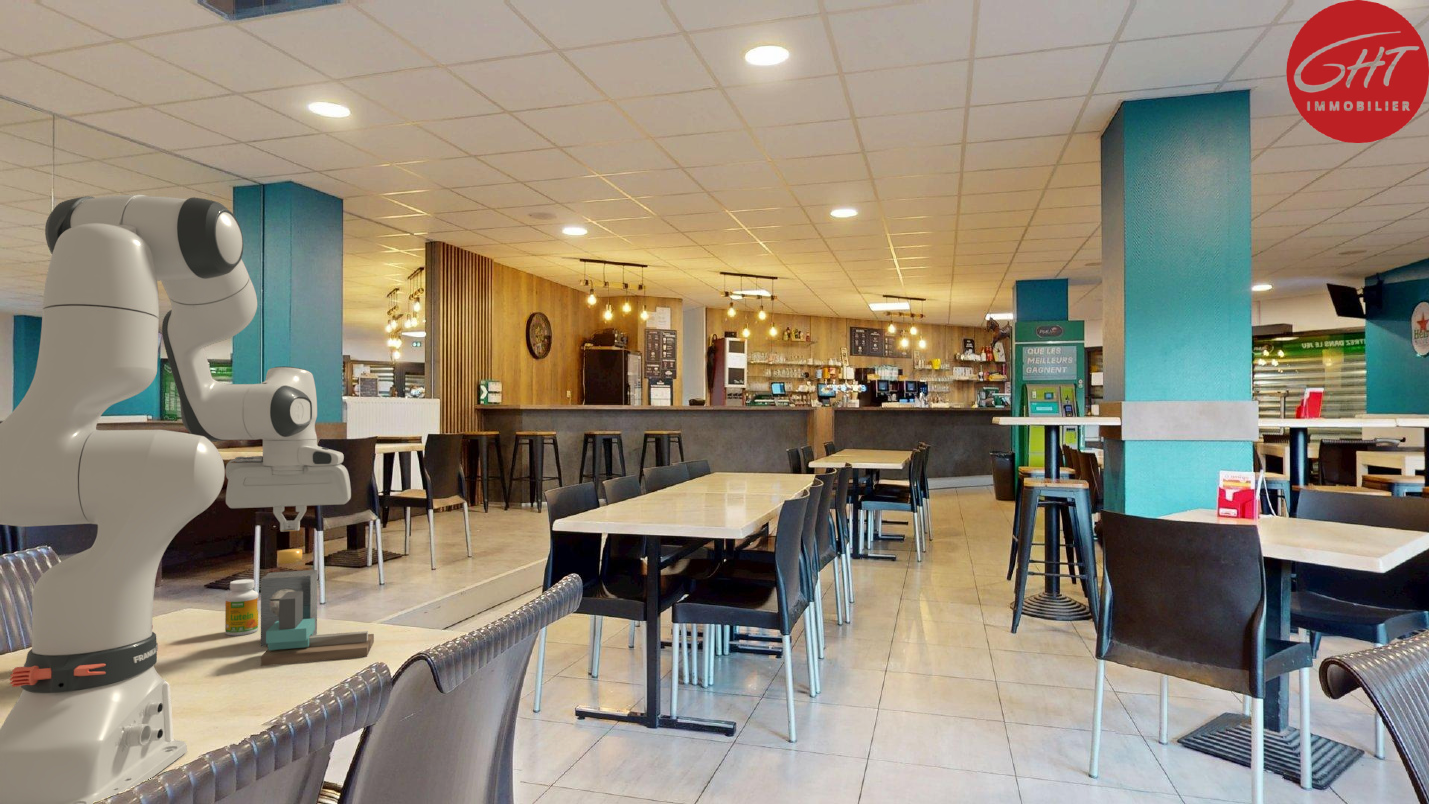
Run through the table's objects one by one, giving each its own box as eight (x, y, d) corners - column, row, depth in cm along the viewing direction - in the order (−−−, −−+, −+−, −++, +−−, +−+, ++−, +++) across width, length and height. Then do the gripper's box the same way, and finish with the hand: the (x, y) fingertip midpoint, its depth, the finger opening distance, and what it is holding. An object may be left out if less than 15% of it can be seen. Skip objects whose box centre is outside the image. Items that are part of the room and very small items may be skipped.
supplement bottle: (226, 638, 144) (226, 585, 145) (224, 631, 149) (224, 580, 149) (259, 633, 148) (260, 581, 148) (256, 627, 152) (256, 577, 152)
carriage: (306, 649, 130) (306, 598, 130) (266, 652, 129) (266, 601, 129) (314, 638, 137) (314, 589, 137) (276, 641, 135) (276, 592, 135)
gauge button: (299, 562, 142) (299, 551, 142) (274, 564, 140) (275, 553, 140) (304, 559, 145) (304, 548, 145) (280, 560, 144) (280, 549, 144)
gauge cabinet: (309, 643, 140) (309, 576, 141) (259, 647, 138) (260, 579, 138) (316, 633, 147) (317, 569, 147) (269, 637, 144) (269, 572, 144)
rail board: (366, 656, 132) (367, 638, 132) (260, 665, 127) (260, 647, 127) (373, 642, 141) (373, 625, 141) (274, 650, 136) (274, 633, 136)
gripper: (220, 457, 137) (220, 536, 137) (347, 455, 143) (347, 530, 143) (231, 456, 143) (230, 531, 143) (352, 453, 149) (352, 525, 149)
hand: (290, 530), depth 143 cm, fingers closed
